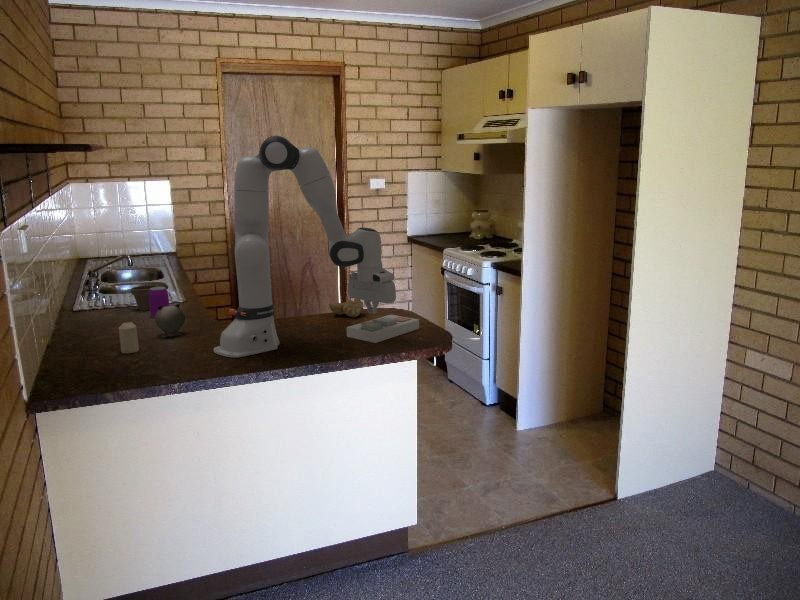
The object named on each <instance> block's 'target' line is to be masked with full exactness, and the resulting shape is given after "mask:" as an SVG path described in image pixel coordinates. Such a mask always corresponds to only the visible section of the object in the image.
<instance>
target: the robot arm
mask: <svg viewBox="0 0 800 600" xmlns="http://www.w3.org/2000/svg"><path fill="white" fill-rule="evenodd" d="M284 170H285V171H286V170H287V171H288V170H290V171H291V173H293V175H294V177H295V178H296V180H297V183H298V187H299V189H300V191H301V193H302V195H303V197H304V199H305V200H306V202H307V204H309V206H310V207H311V208H312V210H313V211H315V212H316V214H317V215H318V217H319V219H320V221H321V223H322V226H323V229H324V231H325V233H326V236H327V240H328V241H327V252H328V255H329V257H330V260H331V262H332V263H333V264H334V265H335V266H337V267H340V268H348V267H351V266H355V265H356V270H357V271H356V272H351V273H349V275H348V285H347V295H348V297H349V298H350V299H353V300H354V299H360V300H362V301H364V302H363V303H364V305H365V307H366V309H367V313H369V314H374V315H375V314H377V313H378V312H377V311H378V309H377V308H378V307H379V304H380V303H382V304H388V305H389V304H393V303H394V302H395V301H396V299H397V291H396V290H397V289H396V284H395V282H394V281H393V280H395V274H394V273H393V272H391V271H389V270H387V269H386V268H383V267H384V266H383V261H382V255H383V249H382V248H383V247H382V240H381V235H380V232H378V230H376V229H375V228H372V227H371V228H369V227H357V229H355V230H354V232H352V233H350V234H347V233H346V231H345V230H344V227H343V224H342V222H341V220H340V215H339V214H338V211H337V207H336V206H337V205H336V199H337V198H336V196H337V195H336V189H335V184H334V182H333V178H332V175H331V173H330V170H329V169H328V166H327V164H326V162H325V160H324V159H323V157H322V154H320V152H319V151H318V150H317V149H316V148H315V147H312V146H311V147H310V146H307V147H302V148H298V147H296V146H295V145H294V144H293V143H291V142H290V140H289V139H287V138H286V137H284V136H282V135H271V136H269V137H267V138H266V139H265V140H263V142H262V143H261V144H260V147H259V151H258V153H257V154H255V155H246V156H243V157H241V158H239V160H238V161H237V163H236V167H235V173H234V185H233V186H234V187H233V189H234V190H233V193H234V194H233V195H234V196H233V197H234V199H233V200H234V204H233V205H234V206H233V207H234V242H235V243H234V260H235V262H234V263H235V270H236V280H237V281H236V282H237V293H238V307H237V309H236V308H230V309H229V315H233V316H235V318H234V319H233V320H232V322H230V323H229V325H228V326H227V327H226V328H225V329H224V330H223V331H221V335H220V339H219V345H218V346H214V348H213V353H215V354H217V355H218V356H219V355H220V356H223V357H227V358H242V357H247V356H250V355H256V354H260V353H266V352H270V351H274V350H278V346H279V345H281V344H280V340H279V337H278V333H277V330H276V324H275V318H274V317H275V304H274V303H273V294H272V279H271V275H272V274H271V262H270V261H271V260H270V257H271V256H270V247H269V220H270V219H269V214H270V213H269V211H270V210H269V209H270V208H269V206H270V205H269V203H270V202H269V201H270V200H269V199H270V198H269V197H270V195H269V194H270V193H269V190H270V189H269V187H270V186H269V184H270V183H269V180H270V176H271V174H272V172H276V171H277V172H278V171H284Z"/></svg>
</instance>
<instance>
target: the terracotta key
mask: <svg viewBox="0 0 800 600" xmlns="http://www.w3.org/2000/svg"><path fill="white" fill-rule="evenodd" d="M405 317H406V316H402V317H397V318H394V319H396V322H405V321H408V320H410V318H411V317H408V318H405Z"/></svg>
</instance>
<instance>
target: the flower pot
mask: <svg viewBox="0 0 800 600" xmlns="http://www.w3.org/2000/svg"><path fill="white" fill-rule="evenodd" d="M153 287H159V285H156V284H146V285H137V286H134V287H131V288H130V293H131V295H133V296H134V300H135V302H136V305H137V307H138V309H139V311H141V312H147V311H149V312H150V304H149V295H148V294H149V290H150V288H153Z"/></svg>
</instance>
